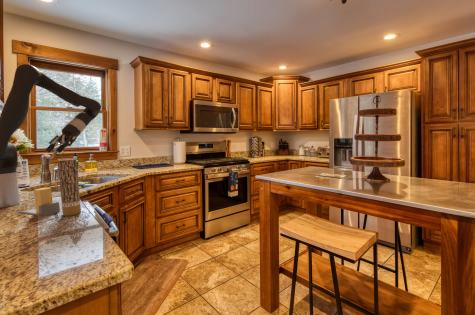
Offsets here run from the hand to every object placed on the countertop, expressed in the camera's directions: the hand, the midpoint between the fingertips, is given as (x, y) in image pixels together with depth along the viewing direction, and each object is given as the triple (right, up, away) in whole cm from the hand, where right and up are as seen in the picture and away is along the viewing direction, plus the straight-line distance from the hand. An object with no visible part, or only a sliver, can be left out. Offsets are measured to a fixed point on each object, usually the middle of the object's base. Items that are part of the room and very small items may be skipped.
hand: (52, 151), depth 121 cm
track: (0, -29, -8) cm, 30 cm away
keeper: (+4, -28, -9) cm, 30 cm away
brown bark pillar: (+17, -29, -11) cm, 35 cm away
